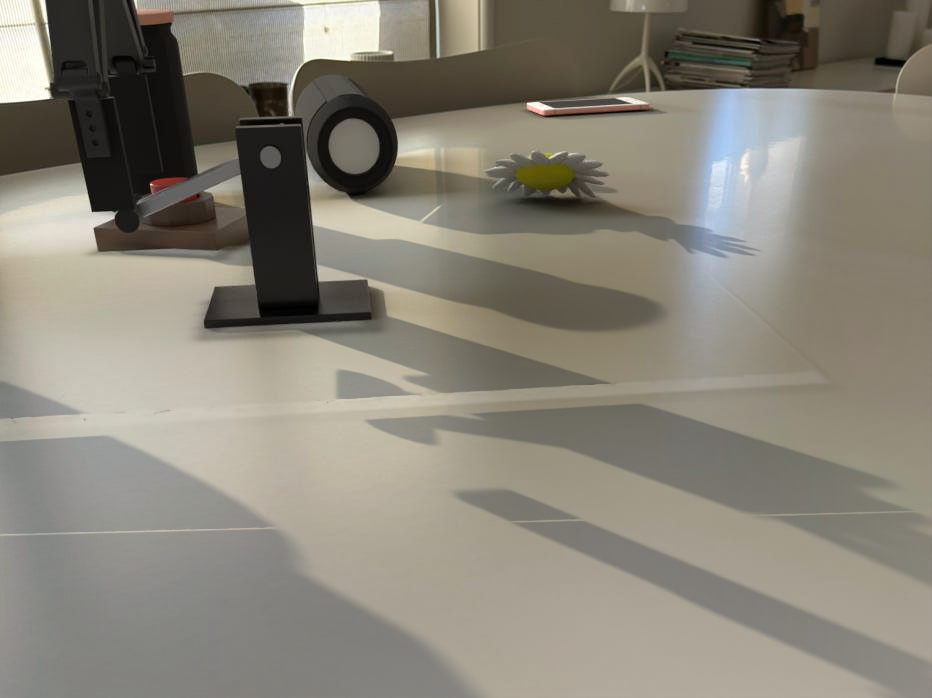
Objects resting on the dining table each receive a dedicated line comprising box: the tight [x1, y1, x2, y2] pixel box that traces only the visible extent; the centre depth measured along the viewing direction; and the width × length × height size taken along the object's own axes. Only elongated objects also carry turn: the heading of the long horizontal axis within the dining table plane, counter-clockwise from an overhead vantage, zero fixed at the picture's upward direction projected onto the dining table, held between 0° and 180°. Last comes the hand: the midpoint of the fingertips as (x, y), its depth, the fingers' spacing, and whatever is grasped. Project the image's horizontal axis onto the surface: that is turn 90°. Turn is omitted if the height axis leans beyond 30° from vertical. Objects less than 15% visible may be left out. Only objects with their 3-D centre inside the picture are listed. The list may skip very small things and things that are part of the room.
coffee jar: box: [108, 8, 199, 213], centre depth 110 cm, size 11×11×18 cm
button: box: [150, 178, 197, 202], centre depth 98 cm, size 4×4×2 cm
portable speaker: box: [294, 73, 399, 195], centre depth 123 cm, size 26×10×10 cm, turn 12°
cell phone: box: [526, 96, 650, 116], centre depth 170 cm, size 9×18×1 cm, turn 106°
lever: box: [113, 123, 284, 233], centre depth 75 cm, size 13×5×2 cm, turn 97°
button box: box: [92, 190, 249, 253], centre depth 99 cm, size 12×10×4 cm
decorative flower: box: [483, 150, 610, 199], centre depth 117 cm, size 13×5×30 cm
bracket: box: [203, 115, 373, 329], centre depth 77 cm, size 12×9×13 cm
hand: (130, 190), depth 74 cm, fingers open, 13 cm apart
